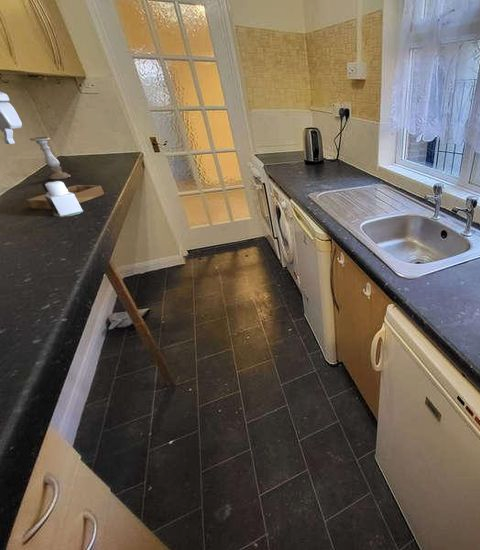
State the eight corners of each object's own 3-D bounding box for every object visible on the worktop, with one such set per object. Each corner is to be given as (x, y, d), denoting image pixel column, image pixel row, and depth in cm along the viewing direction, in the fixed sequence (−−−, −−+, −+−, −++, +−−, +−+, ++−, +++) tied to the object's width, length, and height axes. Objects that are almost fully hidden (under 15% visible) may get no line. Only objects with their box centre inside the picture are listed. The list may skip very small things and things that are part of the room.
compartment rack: (30, 209, 120) (25, 199, 117) (79, 193, 139) (75, 185, 137) (59, 210, 119) (54, 200, 117) (104, 194, 139) (100, 185, 137)
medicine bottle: (53, 212, 116) (36, 181, 110) (76, 207, 121) (60, 178, 115) (60, 216, 113) (42, 184, 107) (83, 211, 118) (67, 180, 112)
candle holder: (46, 178, 161) (23, 138, 150) (64, 175, 168) (44, 136, 157) (56, 180, 158) (34, 139, 148) (74, 176, 165) (55, 137, 155)
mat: (46, 216, 113) (46, 215, 113) (67, 208, 121) (67, 208, 121) (69, 217, 113) (69, 216, 113) (89, 209, 121) (89, 208, 121)
